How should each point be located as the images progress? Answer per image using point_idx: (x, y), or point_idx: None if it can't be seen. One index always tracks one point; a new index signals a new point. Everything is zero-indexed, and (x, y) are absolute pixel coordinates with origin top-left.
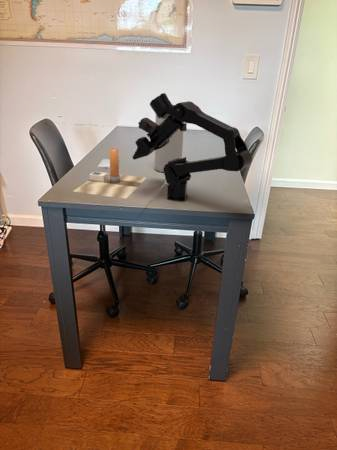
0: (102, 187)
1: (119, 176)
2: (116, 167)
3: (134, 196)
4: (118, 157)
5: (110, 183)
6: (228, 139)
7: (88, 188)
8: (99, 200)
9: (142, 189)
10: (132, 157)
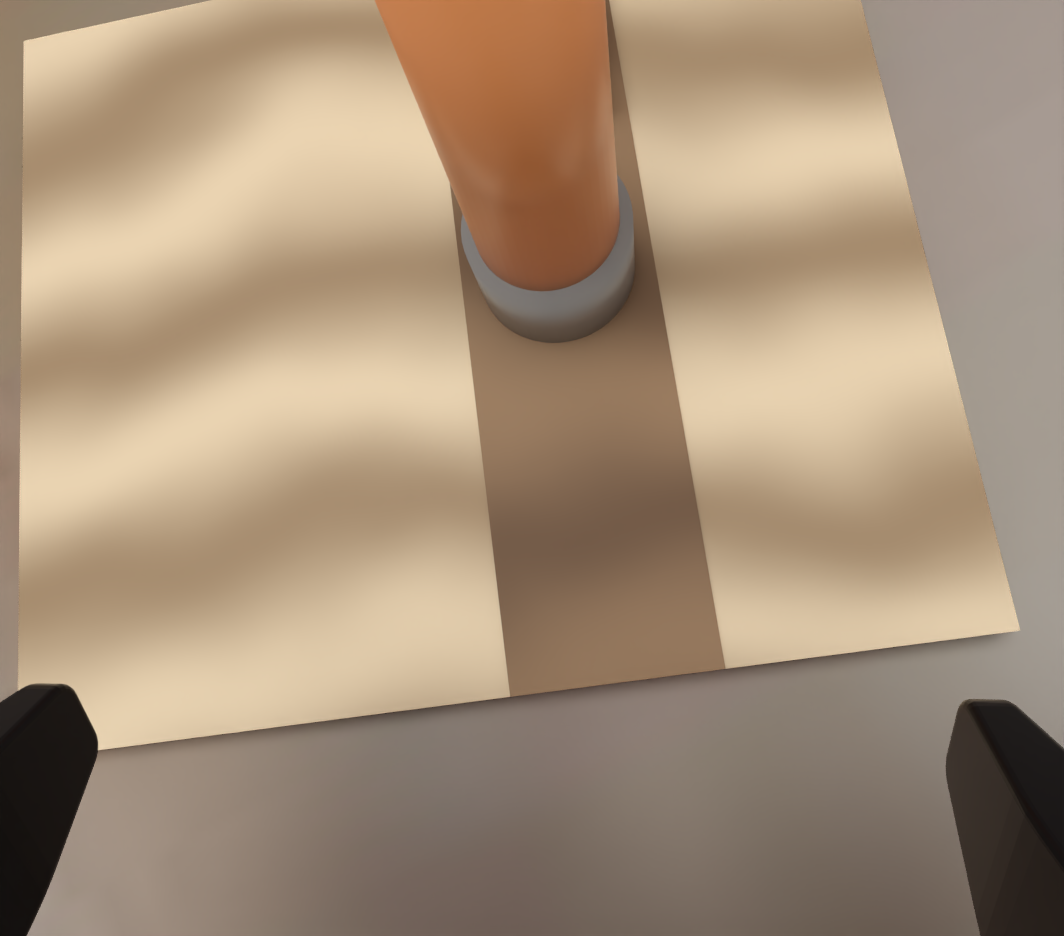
0: (272, 252)
1: (559, 303)
2: (471, 197)
3: (295, 758)
4: (527, 70)
5: (459, 256)
6: None
7: (173, 126)
8: (16, 411)
9: (604, 743)
10: (29, 687)
